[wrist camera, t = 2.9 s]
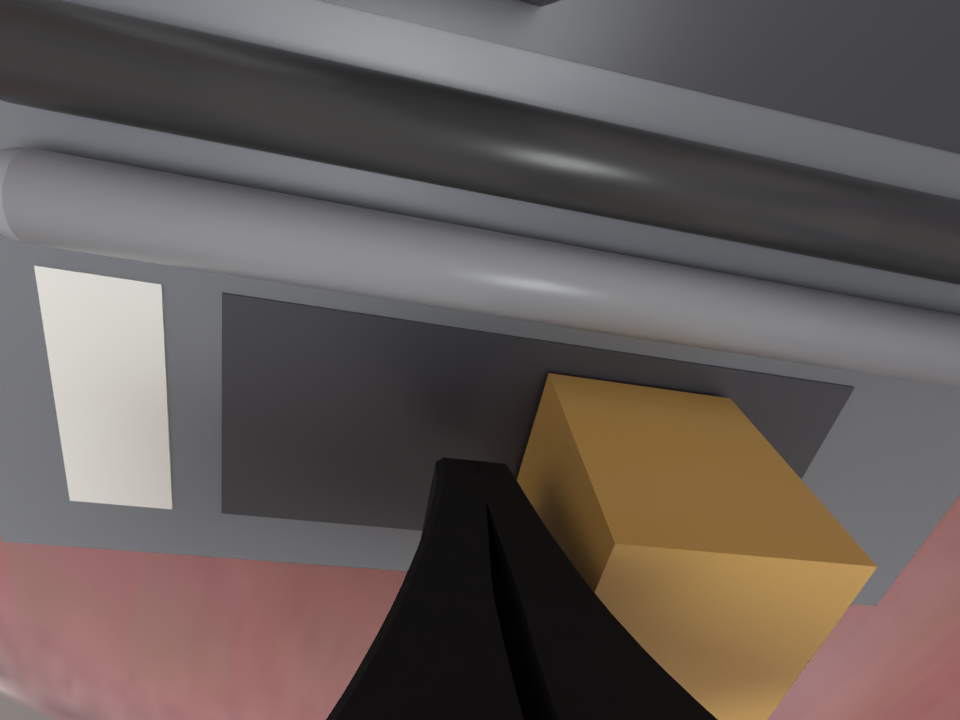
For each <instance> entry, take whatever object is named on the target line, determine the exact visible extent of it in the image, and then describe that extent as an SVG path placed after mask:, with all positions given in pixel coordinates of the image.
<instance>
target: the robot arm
mask: <svg viewBox="0 0 960 720" xmlns="http://www.w3.org/2000/svg"><path fill="white" fill-rule="evenodd" d="M326 720H718V719H717V718H715V717H714V716H713V715H712V714H711V713H710V712H709V711H708V710H706V709H705V708H704V707H703V706H702V705H701V704H700V703H699V702H698V701H697V700H696V699H695V698H694V697H692V696H691V695H690V694H689V693H688V692H687V691H686V690H685V689H684V688H683V687H682V686H681V685H680V684H679V683H678V682H677V681H676V680H675V679H674V678H672V677H671V676H670V675H669V674H668V673H667V672H666V671H665V670H664V669H663V668H662V667H661V666H660V665H659V664H658V663H657V662H656V661H655V660H654V659H653V658H652V657H651V656H650V655H649V654H648V653H647V652H646V651H645V650H644V649H643V647H642V646H641V645H640V644H639V643H638V642H637V641H636V640H635V639H634V638H633V636H632V635H631V634H630V633H629V632H628V631H627V630H626V629H625V628H624V627H623V626H622V624H621V623H620V622H619V621H618V620H617V619H616V618H615V617H614V616H613V615H612V613H611V612H610V611H609V610H608V609H607V607H606V606H605V605H604V604H603V603H602V601H601V600H600V599H599V598H598V596H597V595H596V594H595V593H594V591H593V590H592V589H591V588H590V586H589V585H588V584H587V582H586V581H585V580H584V579H583V577H582V576H581V575H580V573H579V572H578V571H577V569H576V568H575V567H574V565H573V564H572V563H571V561H570V560H569V559H568V557H567V556H566V554H565V553H564V552H563V550H562V549H561V547H560V546H559V544H558V543H557V542H556V540H555V539H554V537H553V536H552V535H551V533H550V532H549V530H548V529H547V527H546V526H545V524H544V523H543V521H542V520H541V518H540V517H539V515H538V514H537V512H536V510H535V509H534V507H533V506H532V504H531V503H530V501H529V500H528V498H527V496H526V495H525V493H524V492H523V490H522V488H521V487H520V485H519V483H518V482H517V480H516V479H515V477H514V475H513V474H512V472H511V470H510V469H509V468H508V466H507V465H506V464H505V463H495V462H485V461H475V460H464V459H454V458H444V457H443V458H441V459H440V460H438V461H436V463H435V468H434V473H433V479H432V484H431V489H430V494H429V499H428V504H427V509H426V514H425V520H424V525H423V530H422V535H421V540H420V543H419V545H418V548H417V550H416V553H415V555H414V558H413V560H412V562H411V565H410V567H409V570H408V572H407V574H406V577H405V579H404V582H403V584H402V586H401V588H400V590H399V592H398V595H397V597H396V599H395V601H394V603H393V605H392V607H391V609H390V611H389V613H388V615H387V617H386V619H385V621H384V623H383V625H382V627H381V629H380V630H379V632H378V634H377V636H376V638H375V640H374V641H373V643H372V645H371V647H370V648H369V650H368V652H367V654H366V656H365V657H364V659H363V661H362V663H361V664H360V666H359V668H358V670H357V671H356V673H355V675H354V676H353V678H352V680H351V681H350V683H349V685H348V686H347V688H346V690H345V691H344V693H343V695H342V696H341V698H340V699H339V701H338V702H337V704H336V705H335V707H334V708H333V710H332V712H331V713H330V715H329V716H328V718H327V719H326Z"/></svg>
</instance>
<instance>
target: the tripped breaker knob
mask: <svg viewBox="0 0 960 720" xmlns="http://www.w3.org/2000/svg"><path fill="white" fill-rule="evenodd" d="M517 482H518V483H519V485H520V487H521V488H522V490H523V492H524V493H525V495H526V496H527V498H528V500H529V501H530V503H531V504H532V506H533V507H534V509H535V510H536V512H537V514H538V515H539V517H540V518H541V520H542V521H543V523H544V524H545V526H546V527H547V529H548V530H549V532H550V533H551V535H552V536H553V537H554V539H555V540H556V542H557V543H558V544H559V546H560V547H561V549H562V550H563V552H564V553H565V554H566V556H567V557H568V559H569V560H570V561H571V563H572V564H573V565H574V567H575V568H576V569H577V571H578V572H579V573H580V575H581V576H582V577H583V579H584V580H585V581H586V582H587V584H588V585H589V586H590V588H591V589H592V590H593V591H594V593H595V594H596V595H597V596H598V598H599V599H600V600H601V601H602V603H603V604H604V605H605V606H606V607H607V609H608V610H609V611H610V612H611V613H612V615H613V616H614V617H615V618H616V619H617V620H618V621H619V622H620V623H621V624H622V626H623V627H624V628H625V629H626V630H627V631H628V632H629V633H630V634H631V635H632V636H633V638H634V639H635V640H636V641H637V642H638V643H639V644H640V645H641V646H642V647H643V649H644V650H645V651H646V652H647V653H648V654H649V655H650V656H651V657H652V658H653V659H654V660H655V661H656V662H657V663H658V664H659V665H660V666H661V667H662V668H663V669H664V670H665V671H666V672H667V673H668V674H669V675H670V676H671V677H672V678H674V679H675V680H676V681H677V682H678V683H679V684H680V685H681V686H682V687H683V688H684V689H685V690H686V691H687V692H688V693H689V694H690V695H691V696H692V697H694V698H695V699H696V700H697V701H698V702H699V703H700V704H701V705H702V706H703V707H704V708H705V709H706V710H708V711H709V712H710V713H711V714H712V715H713V716H714V717H715V718H717V719H718V720H767V719H768V718H769V717H770V715H771V714H772V712H773V711H774V710H775V708H776V707H777V706H778V704H779V703H780V701H781V700H782V699H783V697H784V696H785V694H786V693H787V692H788V690H789V689H790V687H791V686H792V685H793V683H794V682H795V681H796V679H797V678H798V676H799V675H800V674H801V672H802V671H803V669H804V668H805V667H806V665H807V664H808V663H809V661H810V660H811V658H812V657H813V656H814V654H815V653H816V651H817V650H818V649H819V647H820V646H821V645H822V643H823V642H824V640H825V639H826V638H827V636H828V635H829V633H830V632H831V631H832V629H833V628H834V627H835V625H836V624H837V622H838V621H839V620H840V618H841V617H842V615H843V614H844V613H845V611H846V610H847V609H848V607H849V606H850V604H851V603H852V602H853V600H854V599H855V597H856V596H857V595H858V593H859V592H860V590H861V589H862V588H863V586H864V585H865V584H866V582H867V581H868V579H869V578H870V577H871V575H872V574H873V572H874V571H875V570H876V568H877V566H876V564H875V563H874V562H873V561H872V560H871V559H870V558H869V556H868V555H867V554H866V553H865V552H864V551H863V550H862V548H861V547H860V546H859V545H858V544H857V543H856V542H855V540H854V539H853V538H852V537H851V536H850V535H849V534H848V532H847V531H846V530H845V529H844V528H843V527H842V526H841V524H840V523H839V522H838V521H837V520H836V519H835V518H834V516H833V515H832V514H831V513H830V512H829V511H828V510H827V508H826V507H825V506H824V505H823V504H822V503H821V502H820V500H819V499H818V498H817V497H816V496H815V495H814V494H813V492H812V491H811V490H810V489H809V488H808V487H807V486H806V484H805V483H804V482H803V481H802V480H801V479H800V478H799V476H798V475H797V474H796V473H795V472H794V471H793V470H792V468H791V467H790V466H789V465H788V464H787V463H786V462H785V460H784V459H783V458H782V457H781V456H780V455H779V453H778V452H777V451H776V450H775V449H774V448H773V447H772V445H771V444H770V443H769V442H768V441H767V440H766V439H765V437H764V436H763V435H762V434H761V433H760V432H759V431H758V429H757V428H756V427H755V426H754V425H753V424H752V423H751V421H750V420H749V419H748V418H747V417H746V416H745V415H744V413H743V412H742V411H741V410H740V409H739V408H738V407H737V405H736V404H735V403H734V402H733V401H732V400H731V399H730V398H724V397H717V396H710V395H702V394H695V393H688V392H681V391H674V390H667V389H659V388H652V387H645V386H638V385H631V384H623V383H616V382H609V381H602V380H595V379H587V378H580V377H573V376H566V375H559V374H552V373H549V374H548V377H547V380H546V384H545V387H544V390H543V394H542V397H541V400H540V404H539V407H538V411H537V414H536V417H535V421H534V424H533V427H532V431H531V434H530V437H529V441H528V444H527V447H526V451H525V454H524V457H523V461H522V464H521V468H520V471H519V474H518V478H517Z"/></svg>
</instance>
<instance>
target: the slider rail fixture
mask: <svg viewBox="0 0 960 720" xmlns="http://www.w3.org/2000/svg"><path fill="white" fill-rule="evenodd" d="M549 373H552V374H559V375H566V376H573V377H580V378H587V379H595V380H602V381H609V382H616V383H623V384H631V385H638V386H645V387H652V388H659V389H667V390H674V391H681V392H688V393H695V394H702V395H710V396H717V397H724V398H730V399H731V400H732V401H733V402H734V403H735V404H736V405H737V407H738V408H739V409H740V410H741V411H742V412H743V413H744V415H745V416H746V417H747V418H748V419H749V420H750V421H751V423H752V424H753V425H754V426H755V427H756V428H757V429H758V431H759V432H760V433H761V434H762V435H763V436H764V437H765V439H766V440H767V441H768V442H769V443H770V444H771V445H772V447H773V448H774V449H775V450H776V451H777V452H778V453H779V455H780V456H781V457H782V458H783V459H784V460H785V462H786V463H787V464H788V465H789V466H790V467H791V468H792V470H793V471H794V472H795V473H796V474H797V475H798V476H799V478H800V479H801V480H802V481H803V482H804V483H805V484H806V486H807V487H808V488H809V489H810V490H811V491H812V492H813V494H814V495H815V496H816V497H817V498H818V499H819V500H820V502H821V503H822V504H823V505H824V506H825V507H826V508H827V510H828V511H829V512H830V513H831V514H832V515H833V516H834V518H835V519H836V520H837V521H838V522H839V523H840V524H841V526H842V527H843V528H844V529H845V530H846V531H847V532H848V534H849V535H850V536H851V537H852V538H853V539H854V540H855V542H856V543H857V544H858V545H859V546H860V547H861V548H862V550H863V551H864V552H865V553H866V554H867V555H868V556H869V558H870V559H871V560H872V561H873V562H874V563H875V564H876V566H877V568H876V570H875V571H874V572H873V574H872V575H871V577H870V578H869V579H868V581H867V582H866V584H865V585H864V586H863V588H862V589H861V590H860V592H859V593H858V595H857V596H856V597H855V599H854V600H853V602H852V603H851V604H857V605H871V606H876V605H877V604H878V602H879V601H880V600H881V598H882V597H883V596H884V594H885V593H886V592H887V590H888V589H889V588H890V586H891V585H892V584H893V582H894V581H895V580H896V578H897V577H898V576H899V574H900V573H901V572H902V570H903V569H904V568H905V566H906V565H907V564H908V562H909V561H910V560H911V558H912V557H913V556H914V554H915V553H916V552H917V550H918V549H919V548H920V547H921V545H922V544H923V543H924V541H925V540H926V539H927V537H928V536H929V535H930V533H931V532H932V531H933V529H934V528H935V527H936V525H937V524H938V523H939V521H940V520H941V519H942V517H943V516H944V515H945V513H946V512H947V511H948V509H949V508H950V507H951V505H952V504H953V503H954V501H955V500H956V499H957V497H958V496H959V495H960V0H0V533H1V537H2V541H3V542H16V543H30V544H43V545H57V546H71V547H84V548H98V549H111V550H125V551H138V552H152V553H166V554H179V555H193V556H206V557H220V558H233V559H247V560H260V561H274V562H288V563H301V564H315V565H328V566H342V567H355V568H369V569H383V570H396V571H408V570H409V567H410V565H411V562H412V560H413V558H414V555H415V553H416V550H417V548H418V545H419V543H420V540H421V535H422V530H423V525H424V520H425V514H426V509H427V504H428V499H429V494H430V489H431V484H432V479H433V473H434V468H435V463H436V461H438V460H440V459H441V458H443V457H444V458H454V459H464V460H475V461H485V462H495V463H505V464H506V465H507V466H508V468H509V469H510V470H511V472H512V474H513V475H514V477H515V479H516V480H517V478H518V474H519V471H520V468H521V464H522V461H523V457H524V454H525V451H526V447H527V444H528V441H529V437H530V434H531V431H532V427H533V424H534V421H535V417H536V414H537V411H538V407H539V404H540V400H541V397H542V394H543V390H544V387H545V384H546V380H547V377H548V374H549Z"/></svg>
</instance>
